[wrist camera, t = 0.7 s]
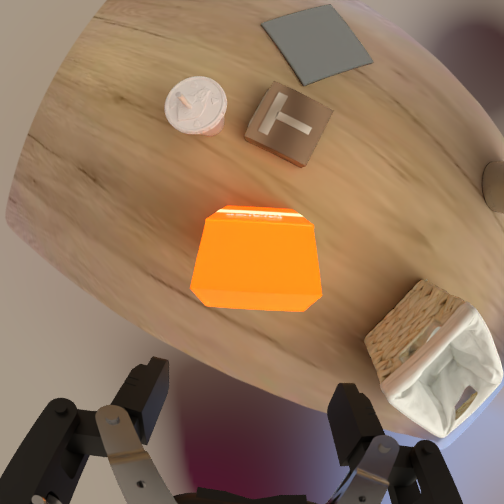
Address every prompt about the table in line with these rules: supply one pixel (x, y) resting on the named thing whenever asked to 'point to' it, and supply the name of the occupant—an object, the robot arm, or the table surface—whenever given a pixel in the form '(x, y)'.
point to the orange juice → (257, 260)
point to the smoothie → (196, 106)
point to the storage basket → (434, 358)
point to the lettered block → (288, 124)
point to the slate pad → (317, 43)
